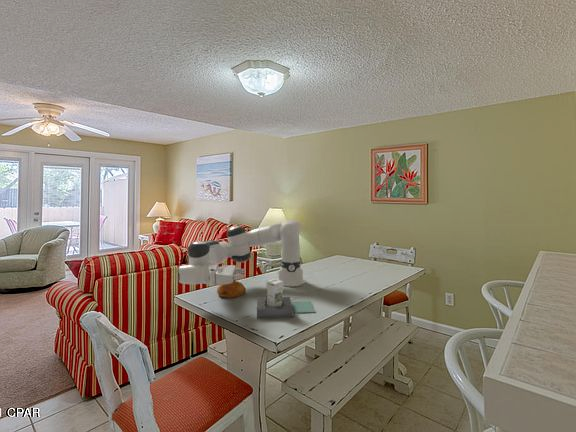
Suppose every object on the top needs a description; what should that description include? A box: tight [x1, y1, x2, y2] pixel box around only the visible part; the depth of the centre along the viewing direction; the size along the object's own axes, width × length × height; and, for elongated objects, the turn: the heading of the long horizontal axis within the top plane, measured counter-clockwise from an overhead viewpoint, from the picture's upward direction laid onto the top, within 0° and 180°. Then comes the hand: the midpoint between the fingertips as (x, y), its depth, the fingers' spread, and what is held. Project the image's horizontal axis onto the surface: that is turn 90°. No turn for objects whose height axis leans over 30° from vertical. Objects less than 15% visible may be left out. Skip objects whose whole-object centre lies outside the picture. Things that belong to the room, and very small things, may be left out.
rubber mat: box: [291, 300, 316, 314], centre depth 149 cm, size 14×10×1 cm
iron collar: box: [256, 296, 294, 320], centre depth 143 cm, size 16×16×4 cm
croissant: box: [217, 280, 247, 299], centre depth 167 cm, size 14×16×8 cm
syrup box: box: [265, 278, 284, 306], centre depth 143 cm, size 6×6×14 cm
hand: (244, 273), depth 141 cm, fingers open, 8 cm apart
